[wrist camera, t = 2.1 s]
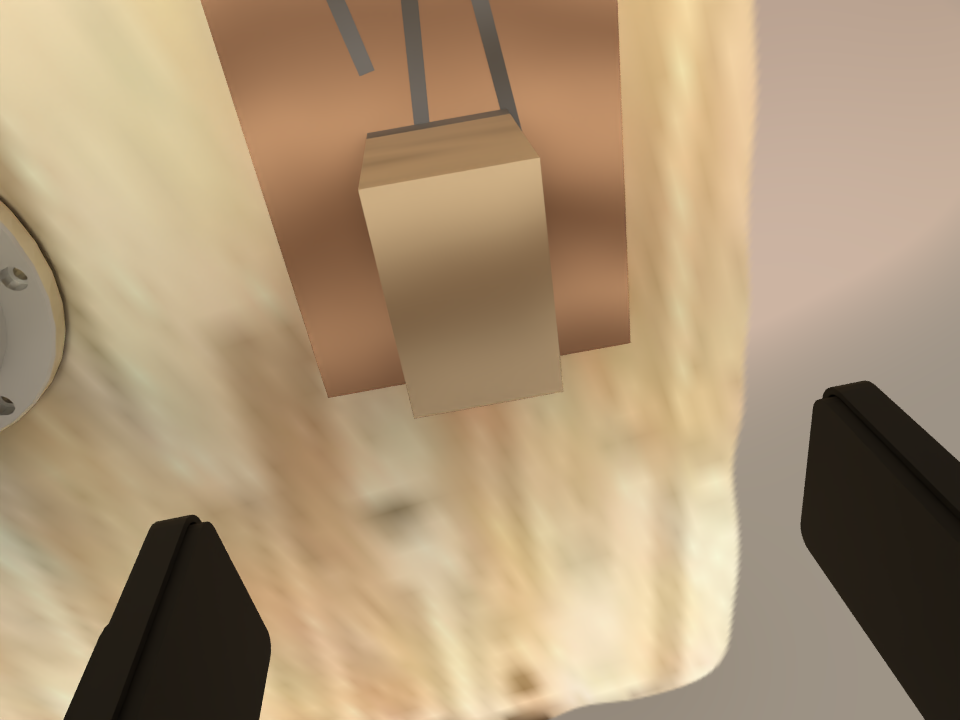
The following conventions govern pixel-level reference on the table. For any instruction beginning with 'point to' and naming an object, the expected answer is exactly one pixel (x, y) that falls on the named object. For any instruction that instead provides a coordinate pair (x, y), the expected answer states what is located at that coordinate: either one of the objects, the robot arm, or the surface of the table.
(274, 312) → the table surface
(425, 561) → the table surface
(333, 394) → the board
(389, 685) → the table surface
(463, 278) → the block
